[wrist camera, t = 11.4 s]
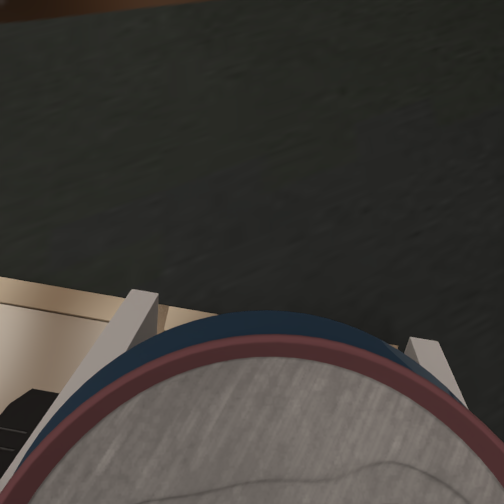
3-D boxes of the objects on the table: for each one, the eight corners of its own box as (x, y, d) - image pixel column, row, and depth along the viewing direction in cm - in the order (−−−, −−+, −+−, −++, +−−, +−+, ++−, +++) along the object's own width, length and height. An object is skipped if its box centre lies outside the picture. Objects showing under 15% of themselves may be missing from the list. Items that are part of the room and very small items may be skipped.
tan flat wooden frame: (-421, 493, 16) (-452, 498, 16) (-266, 234, 20) (-286, 227, 19) (371, 651, 15) (378, 663, 15) (391, 348, 19) (398, 345, 18)
